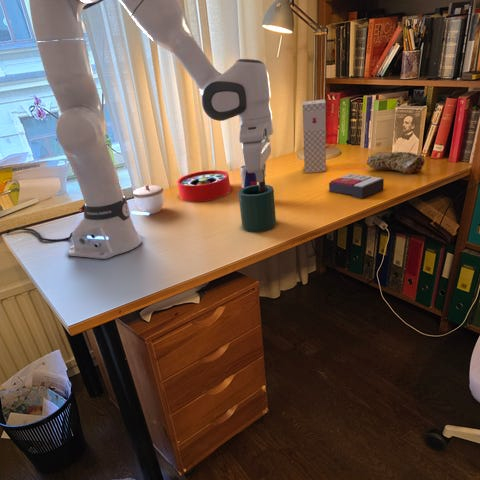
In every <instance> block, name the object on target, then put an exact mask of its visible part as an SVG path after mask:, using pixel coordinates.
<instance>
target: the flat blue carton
mask: <svg viewBox="0 0 480 480" xmlns="http://www.w3.org/2000/svg"><path fill="white" fill-rule="evenodd" d="M384 180H385V179H384V178H382V177H376V176H372V175H363V174H361V175H360V174H354V173H348V174H345V175H343V176H341V177H337V178H334V179H332V180H330V182H329V183H328V191H329V192H331V193H338V194H342V195H343V194H344V195H351V196H353V197H354V198H359V199H365V198H368V197H369V196H372V195H374V194H376V193H378V192H382V191H383V190H384V186H385V184H384V183H385V181H384Z"/></svg>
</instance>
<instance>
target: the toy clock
mask: <svg viewBox="0 0 480 480" xmlns="http://www.w3.org/2000/svg"><path fill="white" fill-rule="evenodd" d="M176 183H177V188H178V193H179V198H180V199H181V200H182V201H185V202H193V203H194V202H206V201H211V200H217V199H220V198H222V197H225V196H227V195H228V194H229V193H230V192H231V183H230V176H229V173H228V172H227V171H224V170H215V169H213V170H202V171H196V172H191V173H189V174H186V175H184V176H183V175H182V176H181V177H180V178H179V179H177V181H176Z"/></svg>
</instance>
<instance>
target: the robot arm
mask: <svg viewBox="0 0 480 480" xmlns="http://www.w3.org/2000/svg"><path fill="white" fill-rule="evenodd" d="M103 1H104V0H28V3H29V4H28V5H29V11H30V17H31V18H30V19H31V24H32V28H33V34H34V36H35V40H36V41H35V42H36V43H37V44H36V45H37V48H38V52H39V55H40V59H41V62H42V66H43V67H42V68H43V70H44V73H45V77H46V81H47V83H48V85H49V86H50V88H51V91H52V93H53V96H54V98H55V101H56V104H57V106H58V110H59V112H60V114H59V117H57V120H56V123H55V134H56V139H57V141H58V143H59V145H60V146H61V148H62V150H63V153H64V155H65V157H66V159H67V161H68V163H69V166H70V167H71V169H72V171H73V173H74V175H75V177H76V180H77V184H78V187H79V189H80V192H81V195H82V198H83V201H84V204H83V205H81V207H80V208H79V209H78V211H79V213H80V214H81V213H83V217H82V219H81V221H80V222H78V224H77V225H76V227H75V228H74V229H73V230H72V232H70V234H69V236H68V237H65V238H55V239H53V238H46V237H43V236H42V235H41V234H40V232H38V231H37V230H35V229H33V228H28V227H27V228H26V227H21V226H20V227H18V226H16V227H17V228H15V229H14V230H22V231H30V232H33V233H34V234H36V235H37V236H38V237H39V239H40V240H42V241H44V242H63V241H69V240H72V245H71V246H70V247H69V248H68V251H67V253H68V256H71V257H80V258H90V259H100V260H106V259H110V258H112V257H114V256H117V255H121V254H124V253H128V252H129V251H132V250H134V249H136V248H137V247H138V246H139V245H141V244H142V238H141V236H140V234H139V233H138V231H137V228H136V226H135V225H134V222H133V220H132V218H131V214H132V215H140V216H142V215H144V216H150V214H149V213H145V212H144V211H131V212H130V208H129V204H128V201H127V197H126V196H125V195H124V192H123V188H122V186H121V181H120V179H119V178H120V177H119V175H118V169H117V168H116V166H115V163H114V161H113V158H112V156H111V153H110V150H109V148H108V145H107V142H106V135H107V131H108V126H107V125H108V124H107V120H106V117H105V112H104V108H103V106H102V105H103V104H102V101H101V97H100V94H99V91H98V88H97V84H96V81H95V77H94V74H93V73H94V72H93V68H92V64H91V63H92V62H91V60H90V55H89V51H88V50H89V49H88V46H87V42H86V37H85V33H84V28H83V22H82V11H84V10H87V9H89V8H92V7H93V6H96V5H98V4H100V3H102V2H103ZM118 1H119V3H121V6H123V7H124V9H125V10H126V11H127V13H128V14H129V16H130V17H131V18H132V19H133V21H134V22H135V23H136V25H137V26H138V27H139V28H140V30H142V32H143V33H144V34H145V35H146V36H147V37H148V38H149V39H150V40H151V41H152V42H153V43H155V44H156V45H157V46H160V47H162V48H163V49H165V51H168V52H169V53H170V54H171V55H173V56H174V57H175V58H176V59H177V60H178V61H179V62H180V64H181V65H182V66H183V68H184V69H185V71H186V72H187V73H188V75H189V77H190V78H192V80H193V81H194V83H195V84H196V86H197V88H198V90H199V92H200V96H201V107H202V109H203V111H204V113H205V114H206V115H207V116H208V117H209V118H210V119H212V120H214V121H217V122H223V121H224V122H225V121H228V120H229V119H232V118H234V117H237V116H238V120H239V133H238V141H239V143H240V144H241V147H242V148H241V149H242V157H243V161H244V165H245V167H246V170H247V172H248V173H255V174H256V179H257V183H258V182H263V180H264V178H263V172H262V168H263V169H264V174H265V177H266V166H267V161H268V159H269V157H271V154H272V148H271V147H272V146H271V138H270V137H271V136H272V135H273V134H274V124H273V112H272V109H271V98H272V97H271V96H272V95H271V85H270V77H269V76H270V75H269V70H268V68H267V66H266V64H265V63H264V62H263V61H261V60H259V59H252V58H251V59H250V58H240V59H237V60H236V61H235V62H234V63H233V64H232V66H230V67H229V68H228V69H227V70H226V71H224V72H223V73H221V72H219V71H218V70H217V69H216V68H215V66H214V65H213V64H212V62H211V61H210V60H209V58H208V56H207V55H206V54H205V53H204V51H203V50H202V48H201V47H200V45H199V44H198V43H197V40H196V39H195V37H194V35H193V32H192V30H191V28H190V25H189V22H188V20H187V17H186V14H185V12H184V9H183V7H182V5H181V3H180V1H179V0H118ZM11 231H12V230H9V229H7V231H6V234H8V233H10V232H11Z"/></svg>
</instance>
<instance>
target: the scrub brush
mask: <svg viewBox="0 0 480 480" xmlns="http://www.w3.org/2000/svg"><path fill="white" fill-rule="evenodd" d="M262 172H263V178H264V180H263V182H257V185H259V194H261V193H264V192H266V185H267V184H266V176H265V174H266V173H265V174H264V169H263V168H262Z"/></svg>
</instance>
